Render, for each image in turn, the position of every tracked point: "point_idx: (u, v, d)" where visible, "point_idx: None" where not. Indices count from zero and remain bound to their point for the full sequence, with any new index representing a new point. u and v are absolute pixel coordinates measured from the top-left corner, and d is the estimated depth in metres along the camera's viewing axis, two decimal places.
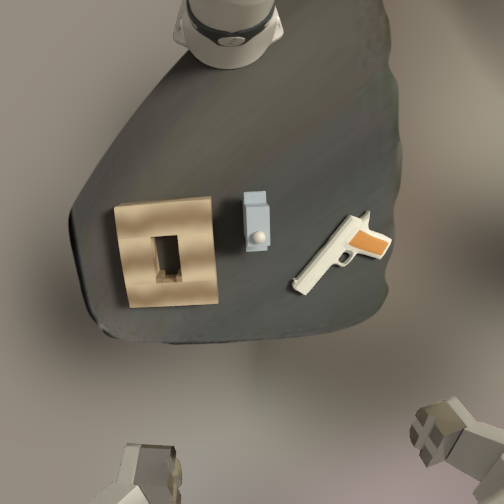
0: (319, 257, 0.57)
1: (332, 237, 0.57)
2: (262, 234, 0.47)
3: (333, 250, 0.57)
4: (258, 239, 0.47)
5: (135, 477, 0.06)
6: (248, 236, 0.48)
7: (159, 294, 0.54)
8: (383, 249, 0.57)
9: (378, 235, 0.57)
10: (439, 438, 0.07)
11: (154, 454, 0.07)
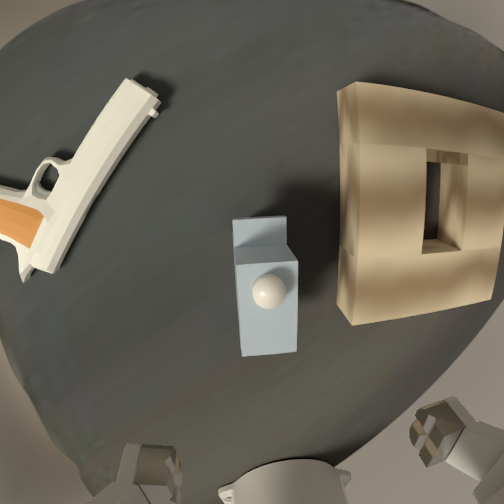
0: (99, 177, 0.21)
1: (78, 223, 0.23)
2: (261, 302, 0.17)
3: (71, 197, 0.21)
4: (271, 290, 0.17)
5: (135, 477, 0.06)
6: (295, 287, 0.18)
7: (465, 127, 0.20)
8: None
9: None
10: (439, 438, 0.07)
11: (154, 454, 0.07)
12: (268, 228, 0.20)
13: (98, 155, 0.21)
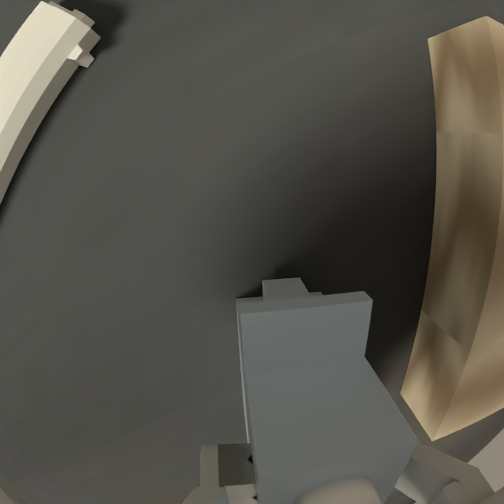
0: None
1: None
2: None
3: None
4: None
5: (220, 479, 0.07)
6: (393, 480, 0.06)
7: None
8: None
9: None
10: None
11: (235, 453, 0.08)
12: (329, 328, 0.08)
13: None
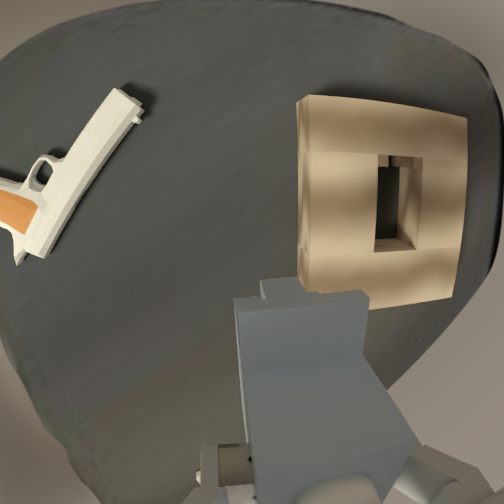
0: (87, 175, 0.24)
1: (68, 214, 0.25)
2: None
3: (63, 191, 0.24)
4: None
5: (220, 479, 0.07)
6: (392, 478, 0.06)
7: (420, 133, 0.23)
8: None
9: None
10: None
11: (235, 453, 0.08)
12: (326, 326, 0.08)
13: (87, 156, 0.23)
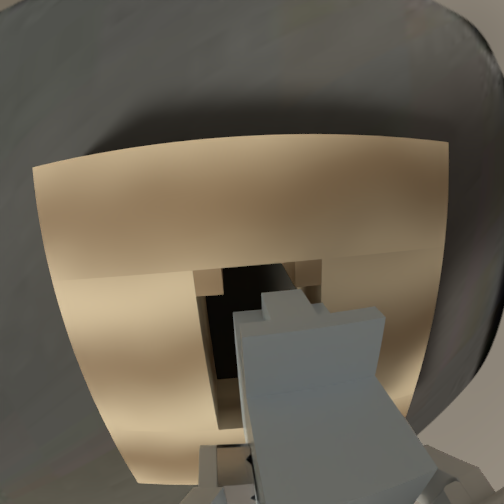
0: None
1: None
2: None
3: None
4: None
5: (218, 479, 0.07)
6: None
7: (314, 200, 0.11)
8: None
9: None
10: None
11: (233, 453, 0.08)
12: (339, 349, 0.07)
13: None
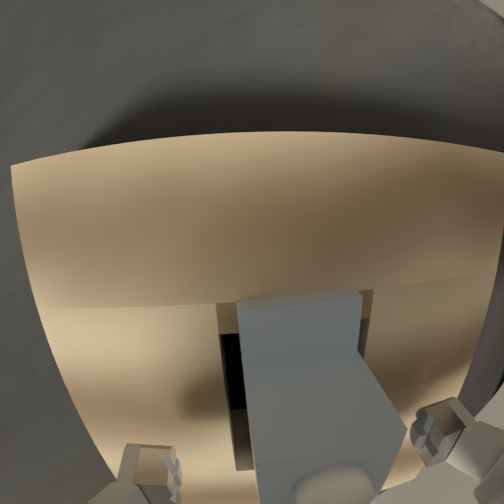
0: None
1: None
2: None
3: None
4: (344, 503, 0.05)
5: (135, 477, 0.06)
6: (386, 468, 0.06)
7: (372, 217, 0.08)
8: None
9: None
10: (439, 438, 0.07)
11: (154, 454, 0.07)
12: (321, 323, 0.08)
13: None
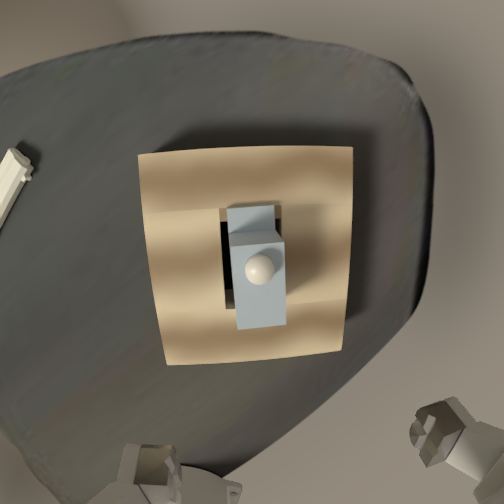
0: None
1: None
2: (253, 279, 0.20)
3: None
4: (261, 268, 0.20)
5: (135, 477, 0.06)
6: (282, 266, 0.21)
7: (277, 176, 0.23)
8: None
9: None
10: (439, 438, 0.07)
11: (154, 454, 0.07)
12: (258, 215, 0.23)
13: None
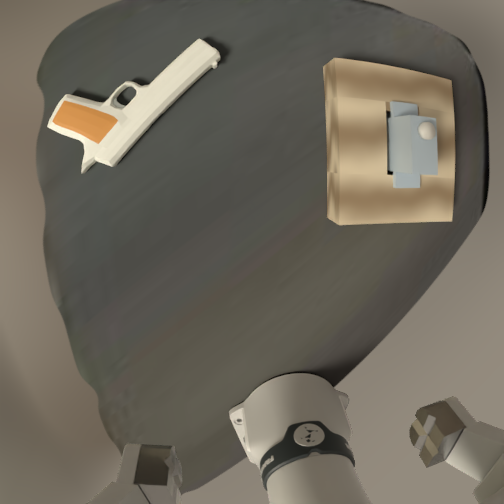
0: (169, 99, 0.30)
1: (144, 130, 0.31)
2: (425, 135, 0.26)
3: (145, 109, 0.30)
4: (429, 128, 0.26)
5: (135, 477, 0.06)
6: (435, 133, 0.27)
7: (416, 88, 0.29)
8: (59, 111, 0.28)
9: (67, 133, 0.29)
10: (439, 438, 0.07)
11: (154, 454, 0.07)
12: (409, 109, 0.29)
13: (172, 84, 0.29)
